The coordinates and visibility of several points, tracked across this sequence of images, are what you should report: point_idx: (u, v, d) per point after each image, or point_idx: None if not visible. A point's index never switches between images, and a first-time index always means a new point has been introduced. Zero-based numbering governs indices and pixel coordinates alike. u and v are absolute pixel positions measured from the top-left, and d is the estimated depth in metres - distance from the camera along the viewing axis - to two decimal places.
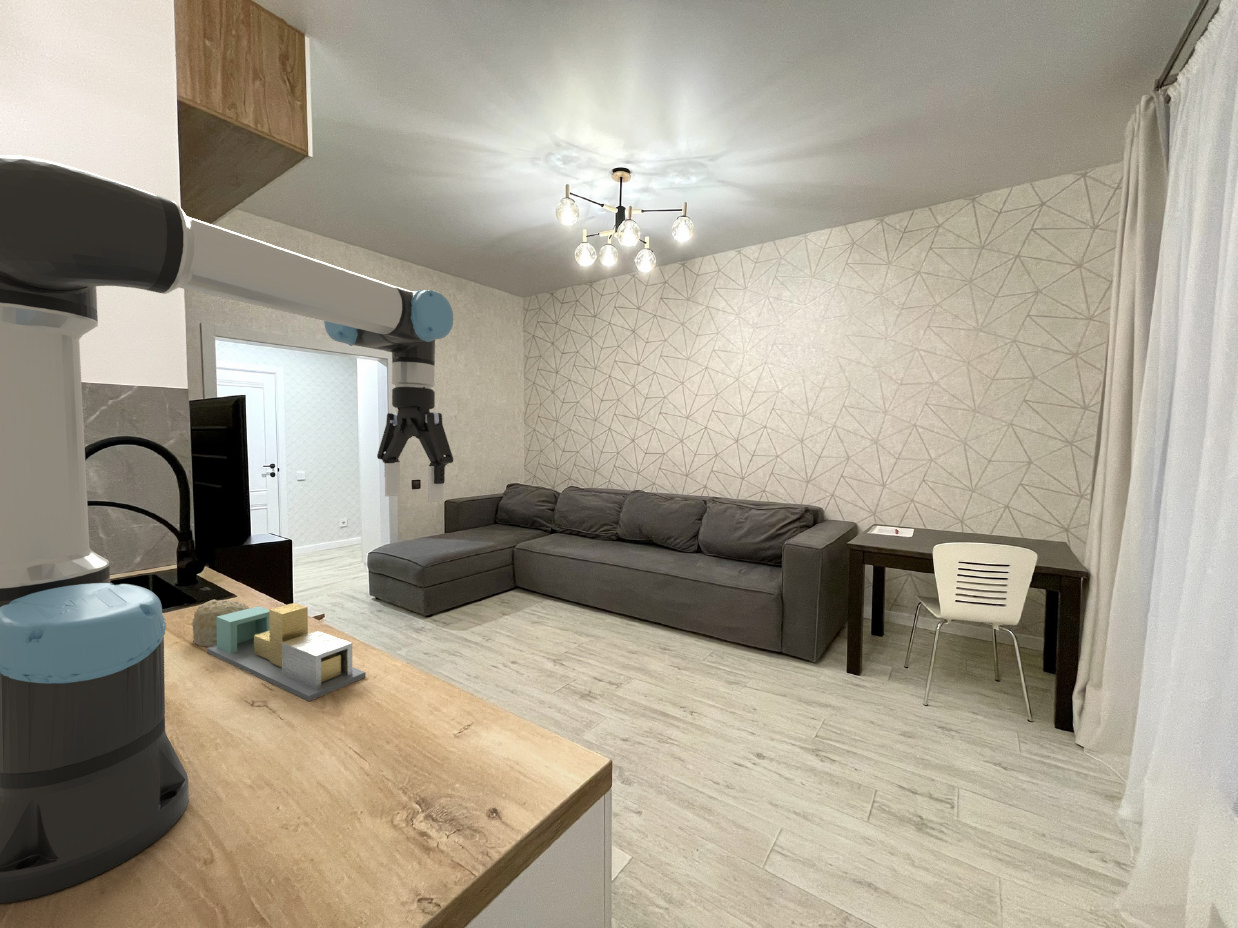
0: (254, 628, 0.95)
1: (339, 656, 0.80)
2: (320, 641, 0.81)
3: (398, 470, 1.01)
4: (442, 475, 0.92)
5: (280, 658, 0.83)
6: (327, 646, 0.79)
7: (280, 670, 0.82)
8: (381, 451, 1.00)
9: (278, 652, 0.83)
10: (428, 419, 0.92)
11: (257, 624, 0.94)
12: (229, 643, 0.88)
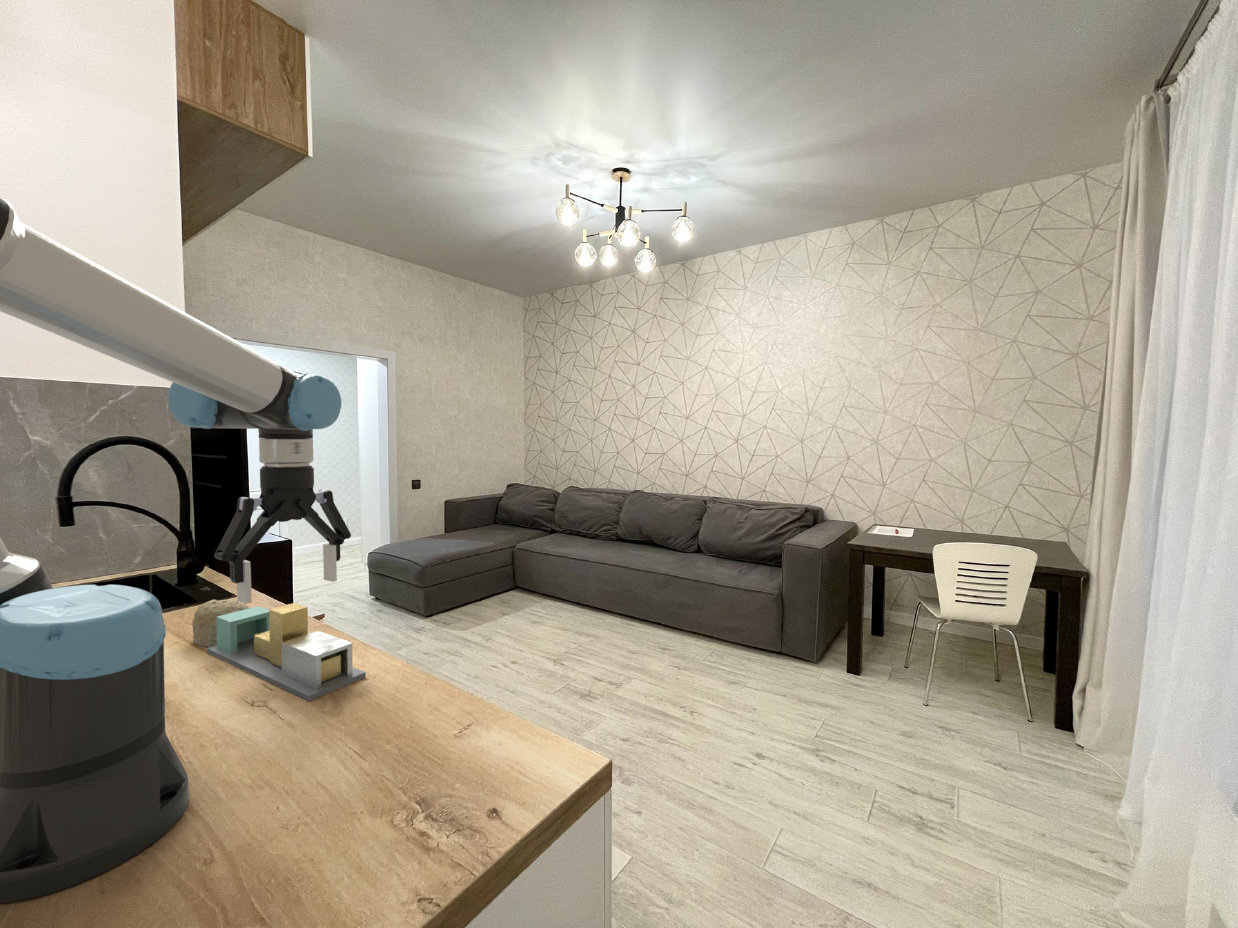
0: (254, 628, 0.95)
1: (339, 656, 0.80)
2: (320, 641, 0.81)
3: (331, 553, 0.90)
4: (233, 573, 0.77)
5: (280, 658, 0.83)
6: (327, 646, 0.79)
7: (280, 670, 0.82)
8: None
9: (278, 652, 0.83)
10: None
11: (257, 624, 0.94)
12: (229, 643, 0.88)
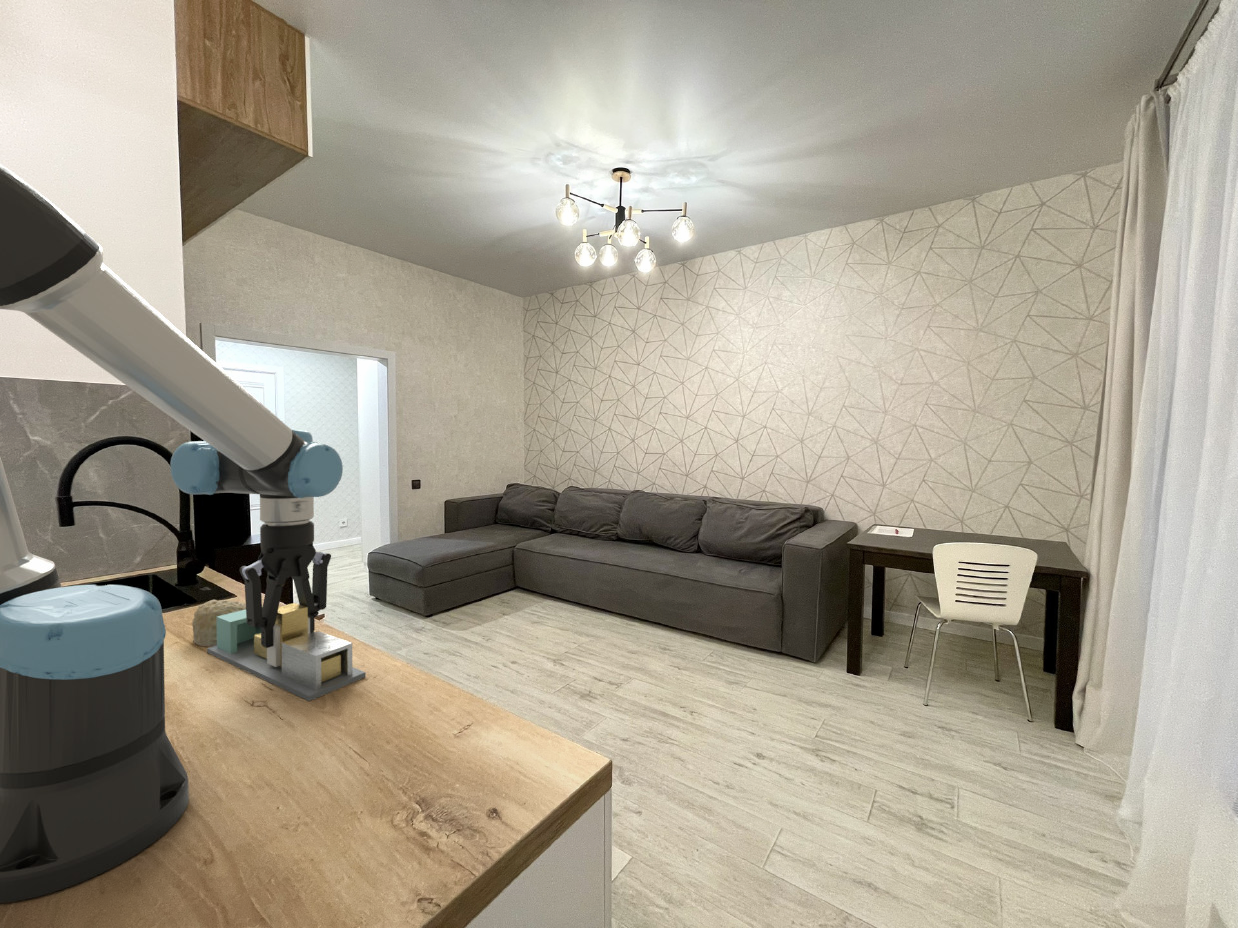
0: (254, 628, 0.95)
1: (339, 656, 0.80)
2: (320, 641, 0.81)
3: None
4: (264, 638, 0.81)
5: None
6: (327, 646, 0.79)
7: (280, 670, 0.82)
8: None
9: None
10: None
11: None
12: (229, 643, 0.88)
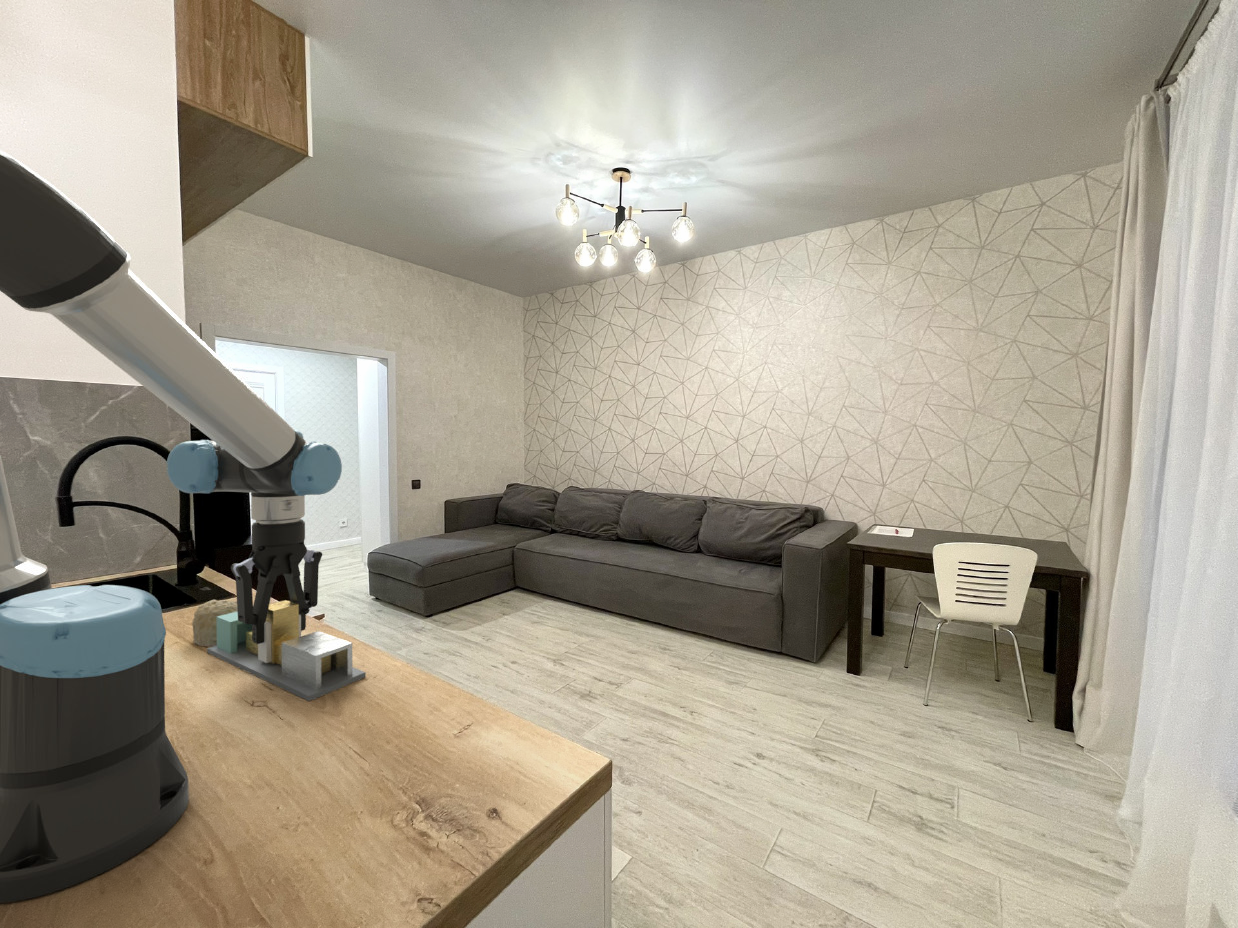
0: None
1: None
2: (320, 641, 0.81)
3: None
4: (255, 634, 0.83)
5: (271, 654, 0.84)
6: (327, 646, 0.79)
7: (280, 670, 0.82)
8: None
9: None
10: None
11: None
12: (229, 643, 0.88)
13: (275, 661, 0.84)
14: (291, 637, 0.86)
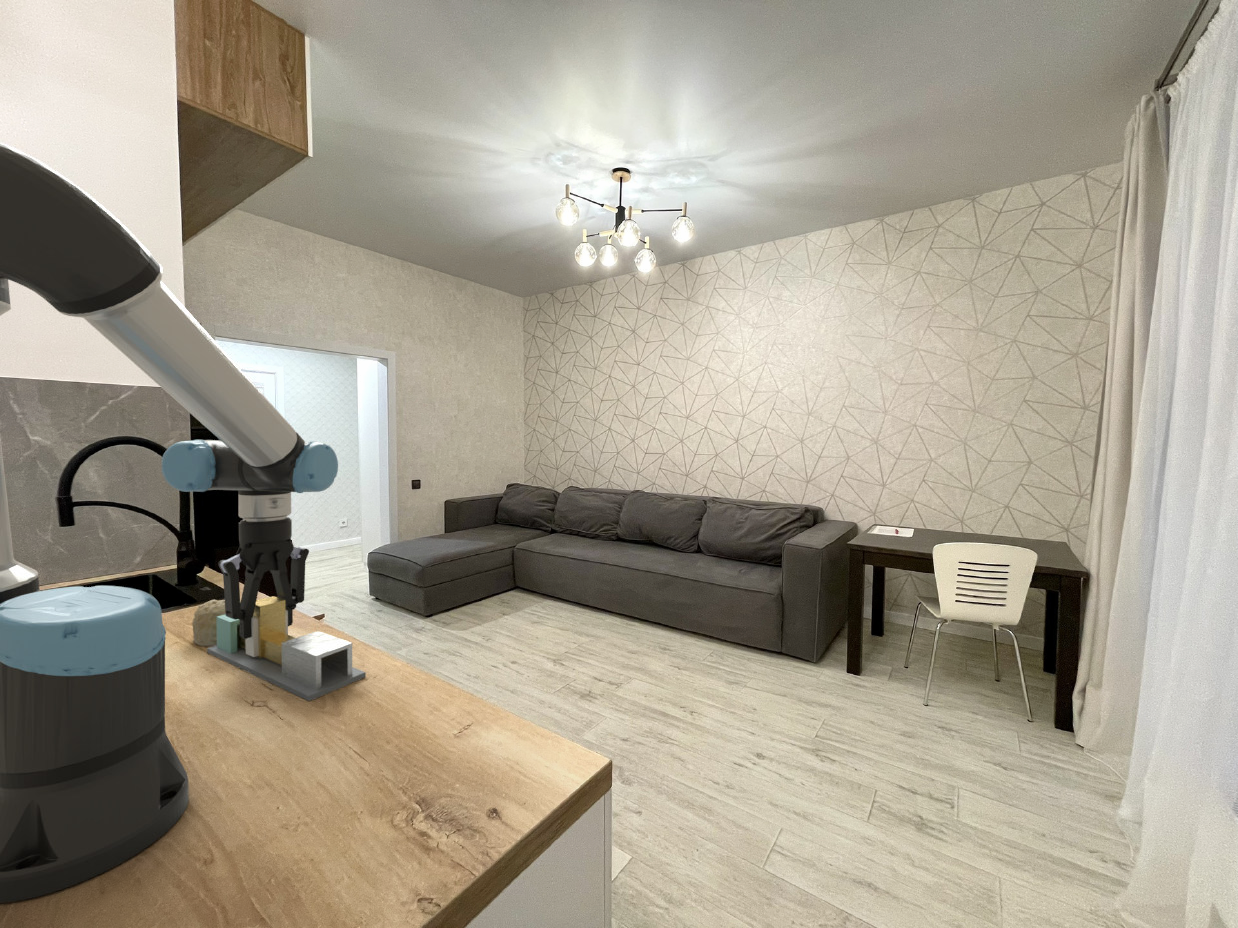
0: None
1: None
2: (320, 641, 0.81)
3: None
4: (242, 629, 0.85)
5: None
6: (327, 646, 0.79)
7: (280, 670, 0.82)
8: None
9: None
10: None
11: None
12: (229, 643, 0.88)
13: (262, 655, 0.86)
14: (278, 632, 0.88)
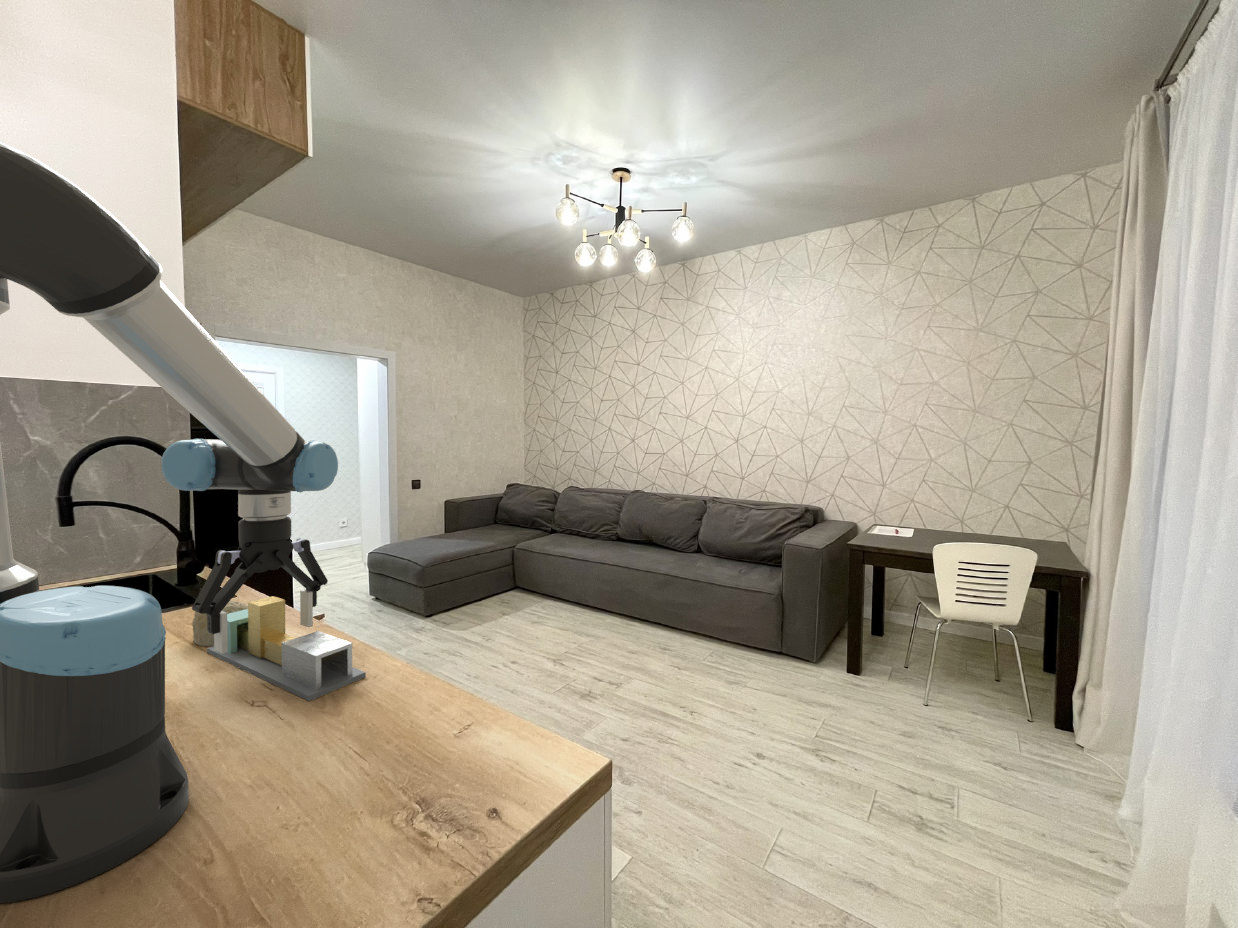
0: None
1: None
2: (320, 641, 0.81)
3: (307, 600, 0.93)
4: (210, 624, 0.81)
5: (258, 649, 0.86)
6: (327, 646, 0.79)
7: (280, 670, 0.82)
8: None
9: (256, 643, 0.86)
10: None
11: None
12: (229, 643, 0.88)
13: (262, 655, 0.86)
14: (278, 632, 0.88)
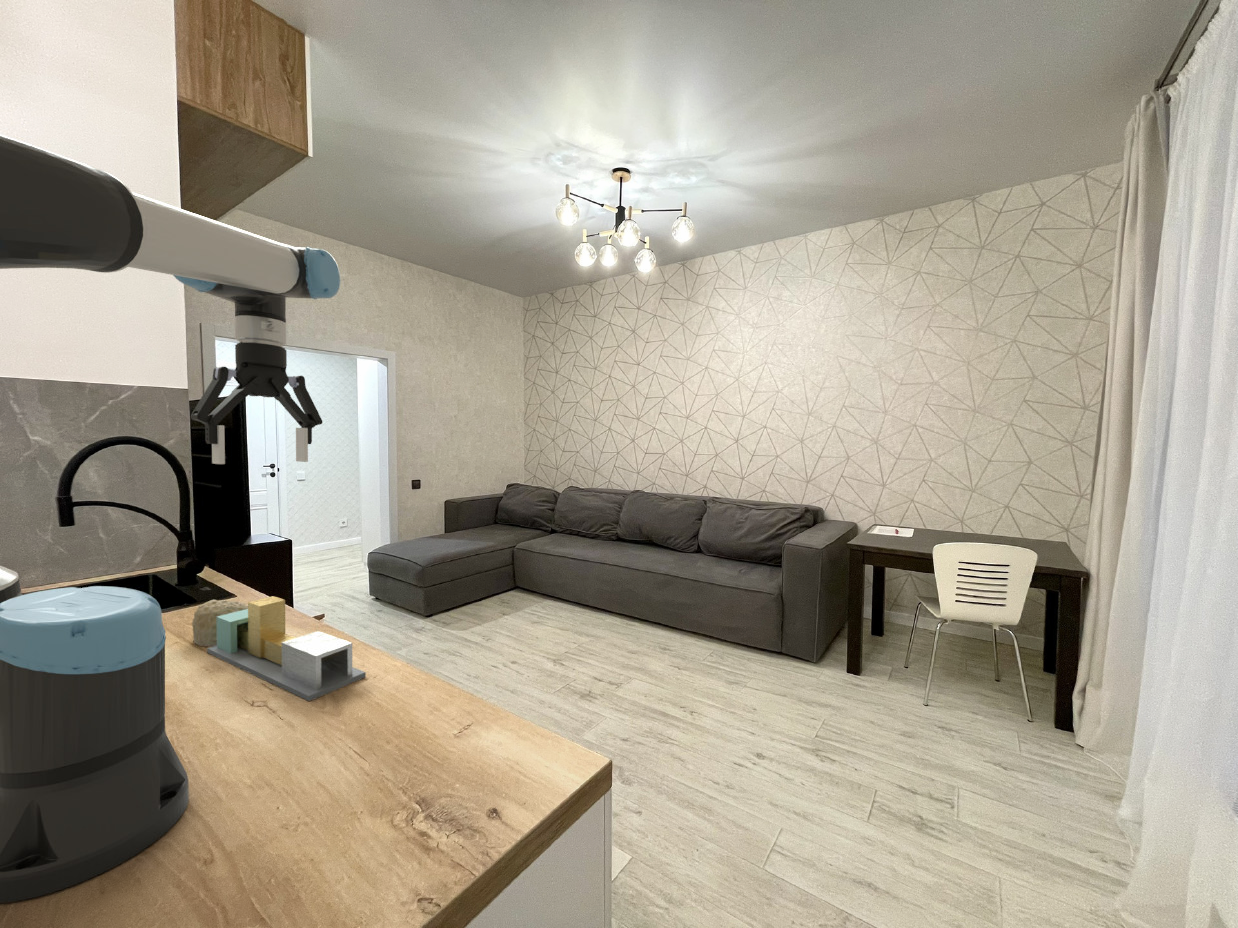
0: None
1: None
2: (320, 641, 0.81)
3: (302, 435, 0.96)
4: (208, 434, 0.84)
5: (258, 649, 0.86)
6: (327, 646, 0.79)
7: (280, 670, 0.82)
8: None
9: (256, 643, 0.86)
10: None
11: None
12: (229, 643, 0.88)
13: (262, 655, 0.86)
14: (278, 632, 0.88)
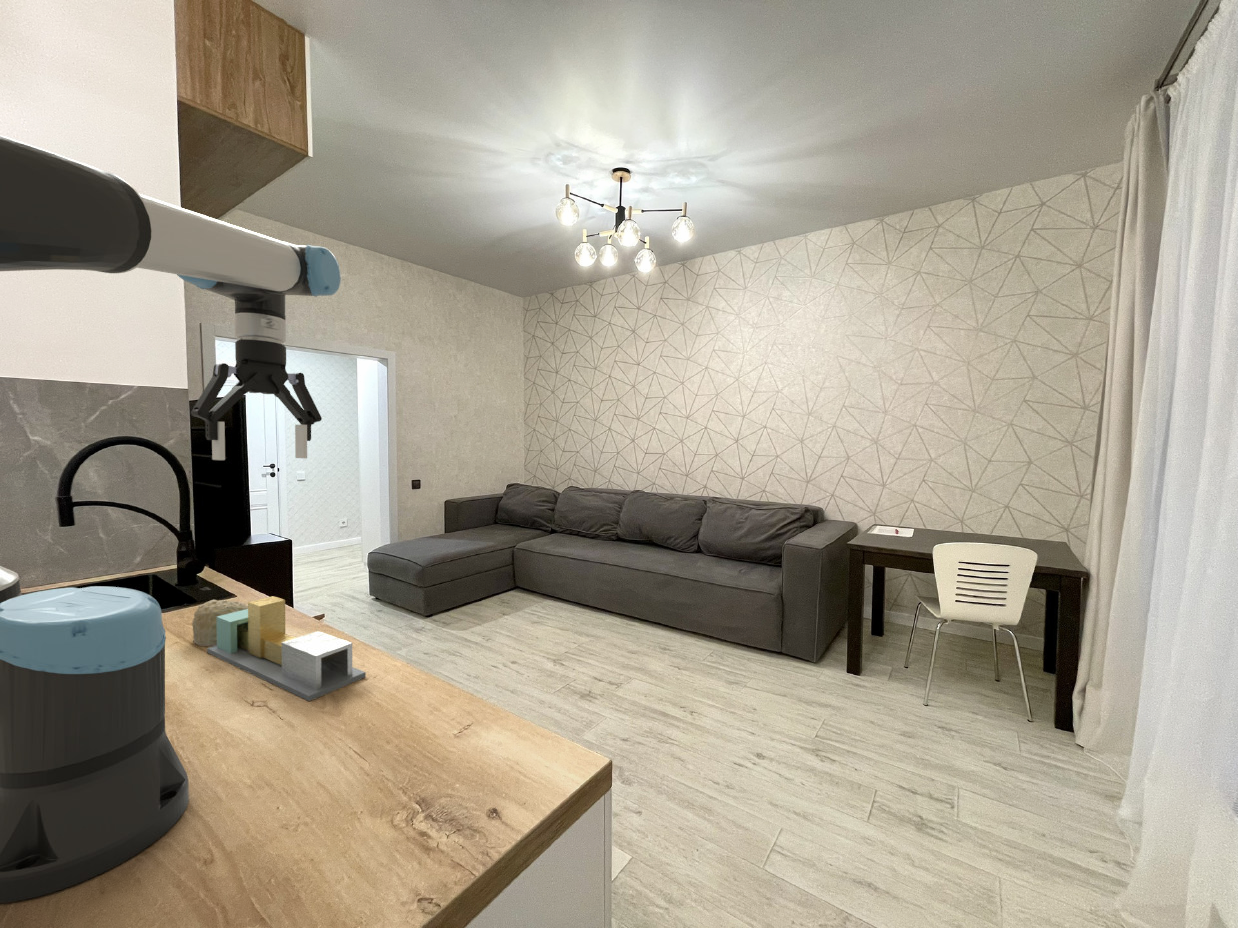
0: None
1: None
2: (320, 641, 0.81)
3: (302, 432, 0.97)
4: (208, 430, 0.84)
5: (258, 649, 0.86)
6: (327, 646, 0.79)
7: (280, 670, 0.82)
8: None
9: (256, 643, 0.86)
10: None
11: None
12: (229, 643, 0.88)
13: (262, 655, 0.86)
14: (278, 632, 0.88)
